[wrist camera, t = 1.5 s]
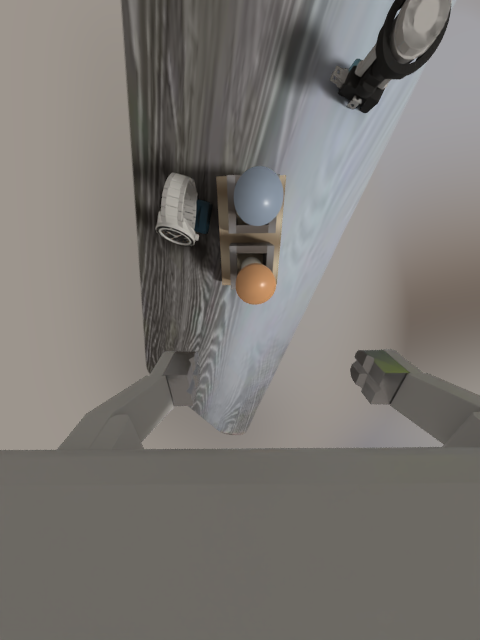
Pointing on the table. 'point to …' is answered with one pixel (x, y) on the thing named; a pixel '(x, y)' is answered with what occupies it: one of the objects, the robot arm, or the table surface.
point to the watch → (182, 211)
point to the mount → (245, 234)
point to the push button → (395, 50)
